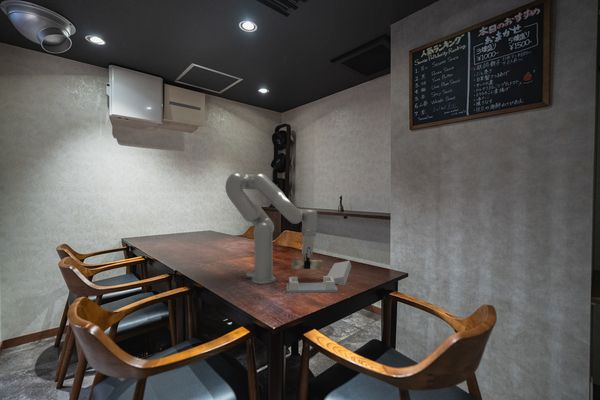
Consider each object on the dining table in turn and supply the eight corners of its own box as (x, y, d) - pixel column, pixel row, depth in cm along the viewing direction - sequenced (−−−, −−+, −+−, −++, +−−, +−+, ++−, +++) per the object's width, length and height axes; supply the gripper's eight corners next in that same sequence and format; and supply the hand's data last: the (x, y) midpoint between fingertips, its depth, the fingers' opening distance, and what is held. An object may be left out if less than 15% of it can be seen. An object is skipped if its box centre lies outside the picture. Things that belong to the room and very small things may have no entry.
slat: (291, 269, 136) (292, 261, 135) (291, 266, 140) (291, 259, 139) (322, 269, 137) (322, 261, 136) (321, 267, 141) (321, 259, 140)
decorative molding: (326, 289, 134) (345, 286, 131) (324, 280, 134) (343, 276, 131) (336, 270, 166) (351, 267, 164) (334, 263, 167) (349, 260, 164)
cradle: (286, 292, 121) (286, 283, 121) (286, 285, 131) (286, 276, 131) (337, 291, 123) (337, 282, 122) (333, 284, 133) (333, 275, 132)
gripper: (300, 230, 146) (298, 262, 146) (302, 235, 129) (300, 271, 129) (313, 231, 146) (311, 263, 147) (317, 235, 130) (315, 272, 130)
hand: (306, 267), depth 138 cm, fingers closed on slat, 4 cm apart
